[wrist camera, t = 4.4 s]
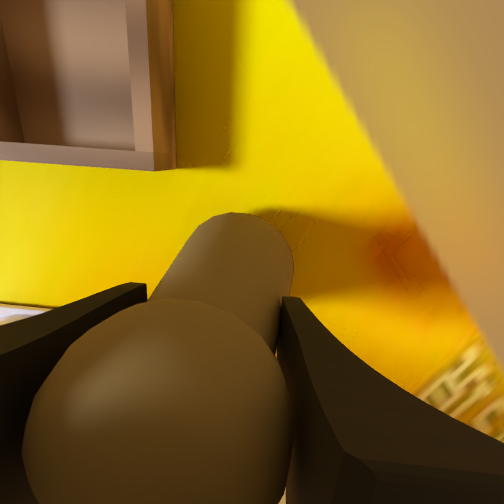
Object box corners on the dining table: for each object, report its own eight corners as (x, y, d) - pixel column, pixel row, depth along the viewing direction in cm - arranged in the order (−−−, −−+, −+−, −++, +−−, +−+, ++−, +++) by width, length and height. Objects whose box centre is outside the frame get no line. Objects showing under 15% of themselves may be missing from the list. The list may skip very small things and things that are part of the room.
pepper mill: (268, 193, 13) (220, 289, 3) (310, 298, 15) (381, 619, 4) (163, 237, 15) (-137, 418, 4) (211, 331, 16) (80, 640, 6)
